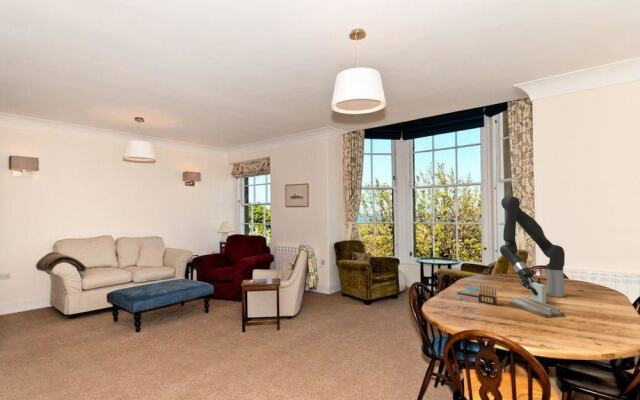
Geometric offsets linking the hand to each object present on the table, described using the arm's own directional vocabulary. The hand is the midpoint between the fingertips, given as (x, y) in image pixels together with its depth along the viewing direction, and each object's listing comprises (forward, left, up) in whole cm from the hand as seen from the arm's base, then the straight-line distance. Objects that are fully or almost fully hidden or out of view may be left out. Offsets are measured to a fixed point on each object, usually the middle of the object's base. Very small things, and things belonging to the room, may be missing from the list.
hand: (539, 294), depth 211 cm
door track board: (+12, +9, -6) cm, 17 cm away
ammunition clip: (+28, -10, -6) cm, 30 cm away
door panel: (0, -1, -5) cm, 5 cm away
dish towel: (+18, -34, -7) cm, 40 cm away
